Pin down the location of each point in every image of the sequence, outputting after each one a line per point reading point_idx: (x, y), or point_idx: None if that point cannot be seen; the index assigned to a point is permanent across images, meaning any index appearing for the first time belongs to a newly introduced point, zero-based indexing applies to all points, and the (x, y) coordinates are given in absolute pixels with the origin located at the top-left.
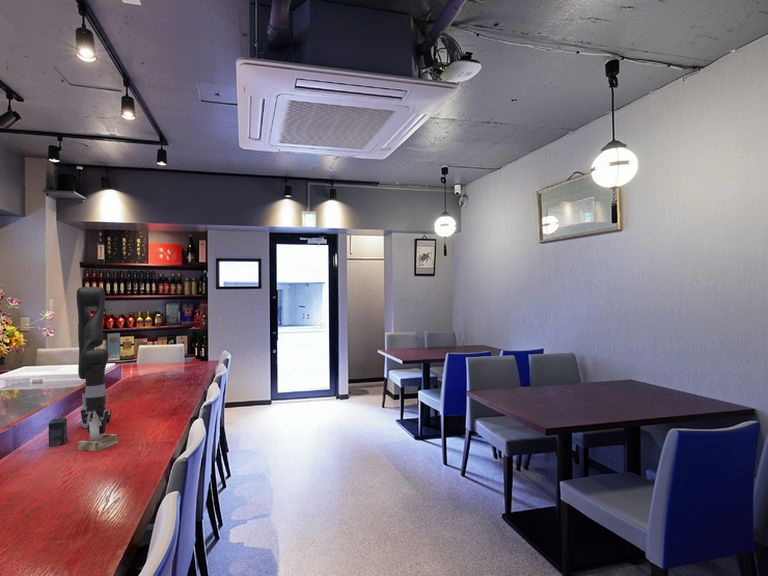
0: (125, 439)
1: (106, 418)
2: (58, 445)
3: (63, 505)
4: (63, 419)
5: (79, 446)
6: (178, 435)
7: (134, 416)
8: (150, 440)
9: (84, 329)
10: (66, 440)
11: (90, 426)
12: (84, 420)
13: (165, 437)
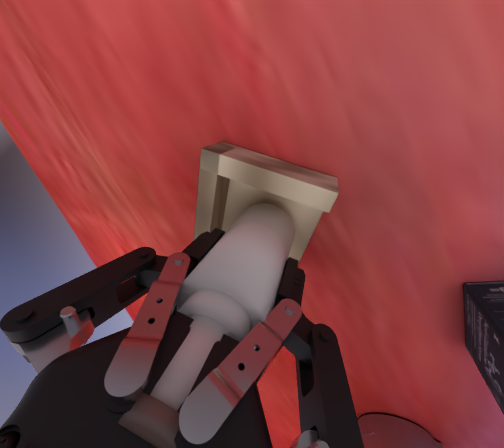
0: None
1: (93, 273)
2: (496, 282)
3: None
4: None
5: (329, 181)
6: (83, 246)
7: (294, 431)
8: (121, 227)
9: None
10: (465, 335)
11: (250, 262)
12: (318, 350)
13: (101, 241)
